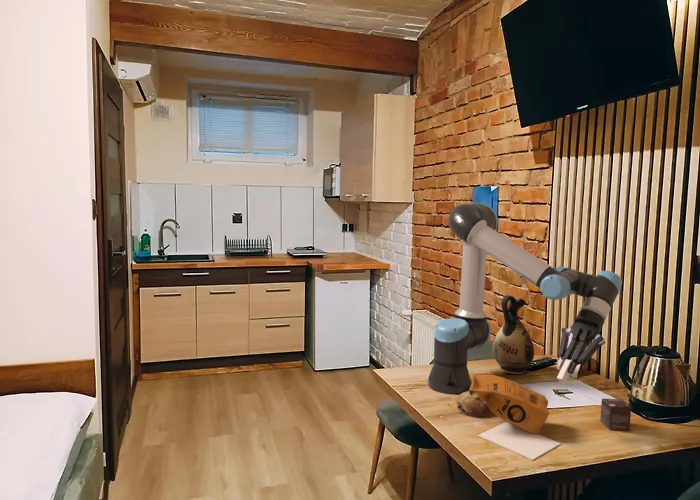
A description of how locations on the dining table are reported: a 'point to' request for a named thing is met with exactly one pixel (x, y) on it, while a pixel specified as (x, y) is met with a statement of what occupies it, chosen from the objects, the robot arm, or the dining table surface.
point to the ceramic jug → (513, 340)
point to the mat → (519, 440)
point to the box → (615, 414)
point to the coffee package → (511, 401)
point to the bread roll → (471, 405)
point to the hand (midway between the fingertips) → (560, 380)
